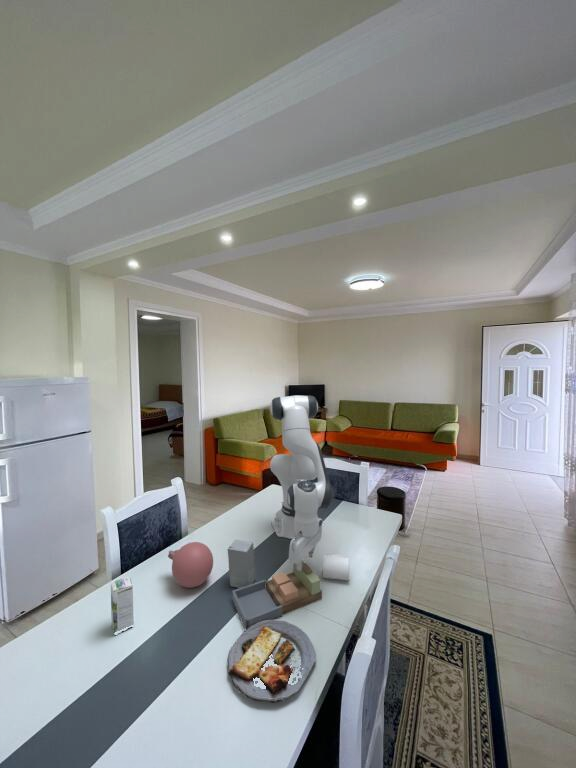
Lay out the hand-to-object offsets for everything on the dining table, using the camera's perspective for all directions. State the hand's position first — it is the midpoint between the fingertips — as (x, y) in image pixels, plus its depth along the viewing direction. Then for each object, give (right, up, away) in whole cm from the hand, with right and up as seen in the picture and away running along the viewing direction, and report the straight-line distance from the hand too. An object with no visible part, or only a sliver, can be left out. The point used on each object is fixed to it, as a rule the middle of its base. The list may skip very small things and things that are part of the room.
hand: (305, 562), depth 119 cm
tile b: (-6, -8, -6) cm, 12 cm away
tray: (-18, -11, -8) cm, 22 cm away
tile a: (-9, -8, 0) cm, 12 cm away
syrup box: (-60, -12, -15) cm, 63 cm away
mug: (+13, -10, +10) cm, 20 cm away
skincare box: (-24, -11, +4) cm, 27 cm away
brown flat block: (-5, -11, -1) cm, 12 cm away
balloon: (-45, -11, +6) cm, 47 cm away
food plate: (-11, -13, -28) cm, 33 cm away
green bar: (0, -8, +1) cm, 8 cm away
